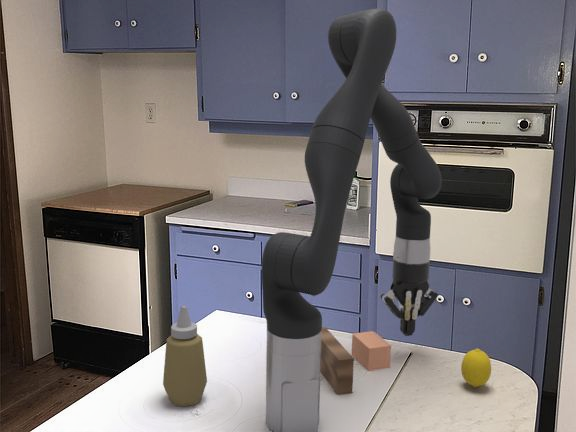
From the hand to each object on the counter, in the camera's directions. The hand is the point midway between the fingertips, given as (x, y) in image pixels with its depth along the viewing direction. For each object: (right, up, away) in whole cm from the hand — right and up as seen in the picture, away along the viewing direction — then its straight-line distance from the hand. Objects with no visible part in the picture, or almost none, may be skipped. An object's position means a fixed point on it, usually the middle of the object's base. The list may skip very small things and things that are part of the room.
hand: (407, 334), depth 131 cm
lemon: (+11, -8, -13) cm, 18 cm away
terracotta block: (-8, -5, -2) cm, 10 cm away
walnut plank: (-17, -7, -8) cm, 20 cm away
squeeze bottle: (-45, -8, -19) cm, 49 cm away
